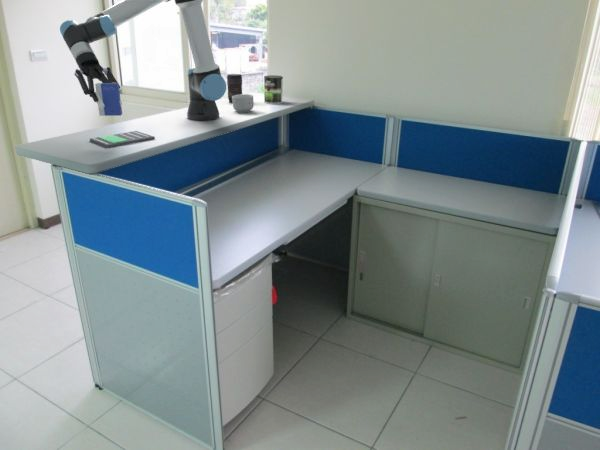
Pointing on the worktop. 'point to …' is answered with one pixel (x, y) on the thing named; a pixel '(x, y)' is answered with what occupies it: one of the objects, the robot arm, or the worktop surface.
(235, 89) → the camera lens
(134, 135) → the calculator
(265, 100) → the coffee can
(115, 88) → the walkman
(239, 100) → the teacup
